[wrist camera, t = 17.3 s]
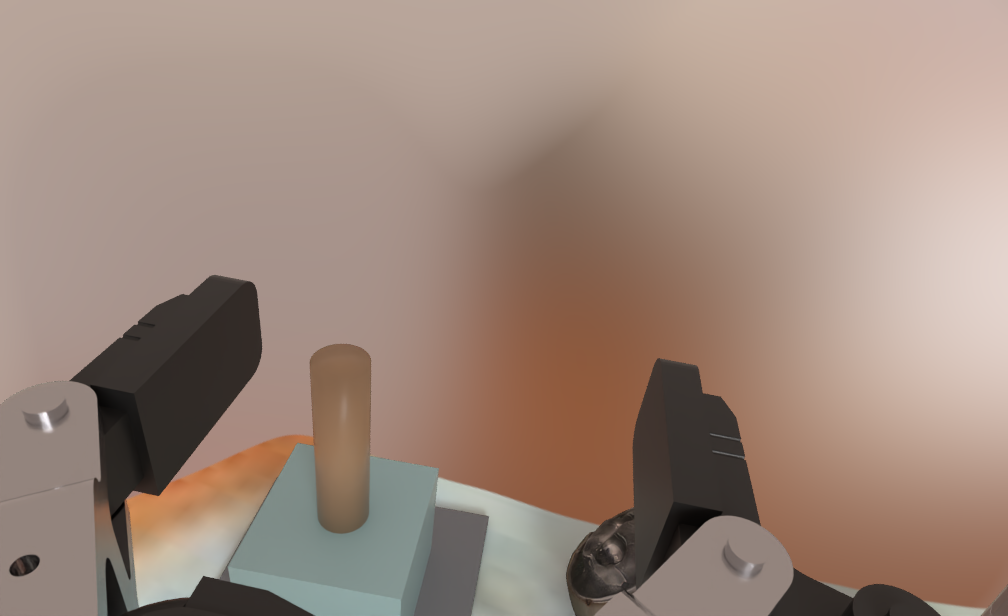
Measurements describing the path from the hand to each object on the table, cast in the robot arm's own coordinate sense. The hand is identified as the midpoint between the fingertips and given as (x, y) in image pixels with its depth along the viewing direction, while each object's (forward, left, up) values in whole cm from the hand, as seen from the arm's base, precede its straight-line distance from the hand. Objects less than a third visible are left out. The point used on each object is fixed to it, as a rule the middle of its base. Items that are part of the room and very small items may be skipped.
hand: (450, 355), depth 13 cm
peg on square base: (-4, -18, -35) cm, 40 cm away
